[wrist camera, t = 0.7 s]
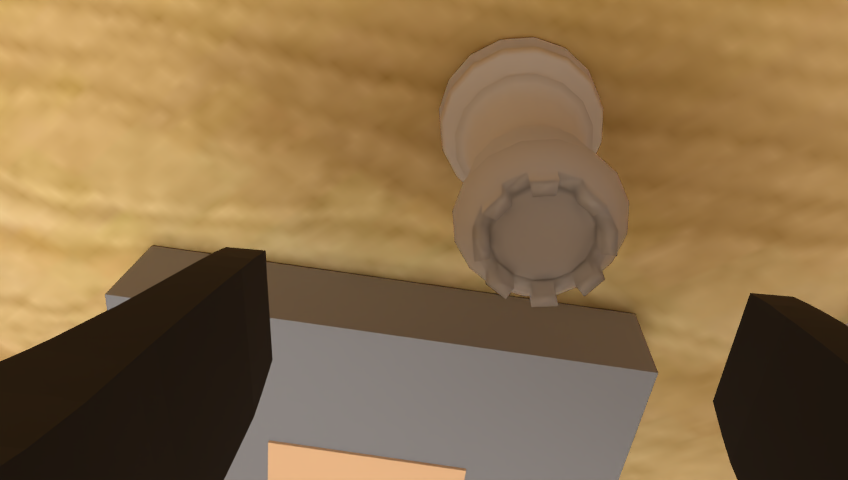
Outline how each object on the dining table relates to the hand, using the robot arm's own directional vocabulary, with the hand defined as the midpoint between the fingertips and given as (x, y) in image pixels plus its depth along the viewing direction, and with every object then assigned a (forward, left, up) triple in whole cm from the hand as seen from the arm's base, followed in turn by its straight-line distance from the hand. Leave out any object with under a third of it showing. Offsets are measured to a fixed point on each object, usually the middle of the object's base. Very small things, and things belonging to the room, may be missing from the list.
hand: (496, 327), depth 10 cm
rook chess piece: (-1, -1, -10) cm, 10 cm away
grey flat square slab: (+2, +13, -10) cm, 17 cm away
